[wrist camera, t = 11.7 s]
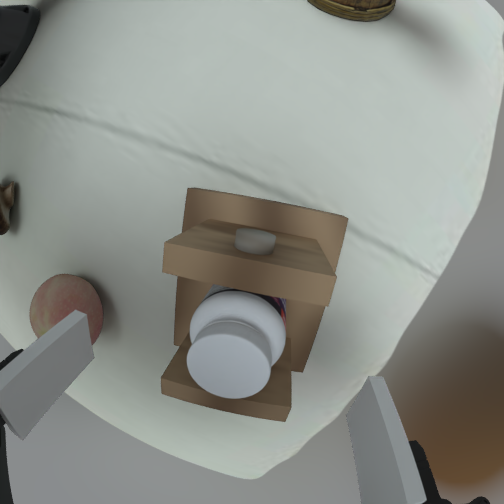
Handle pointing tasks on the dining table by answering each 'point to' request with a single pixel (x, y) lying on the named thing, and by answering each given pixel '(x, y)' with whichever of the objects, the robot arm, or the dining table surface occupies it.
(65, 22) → the dining table surface
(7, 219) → the mushroom
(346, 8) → the wooden mug
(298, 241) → the holder
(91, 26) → the dining table surface
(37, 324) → the apple
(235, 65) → the dining table surface
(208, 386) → the pill bottle
